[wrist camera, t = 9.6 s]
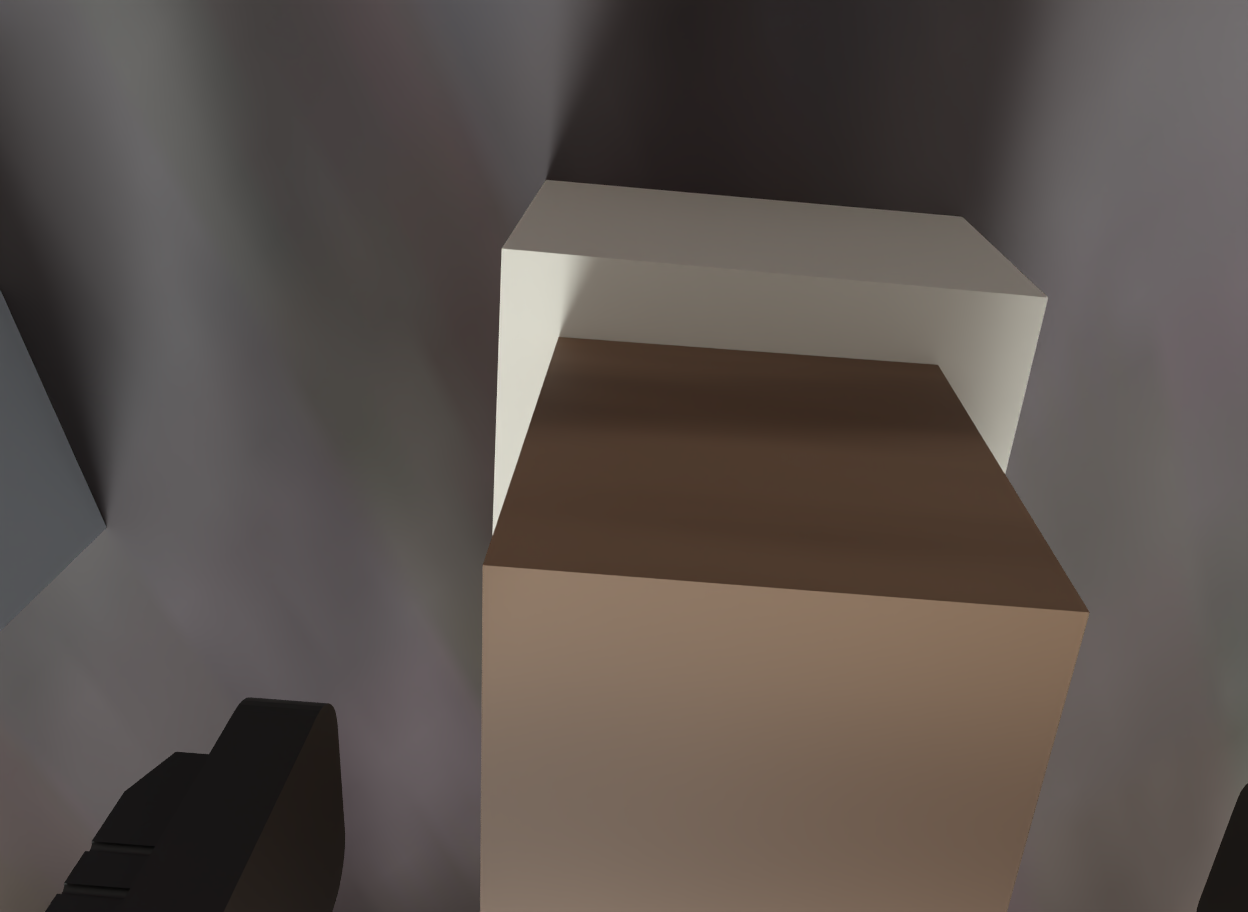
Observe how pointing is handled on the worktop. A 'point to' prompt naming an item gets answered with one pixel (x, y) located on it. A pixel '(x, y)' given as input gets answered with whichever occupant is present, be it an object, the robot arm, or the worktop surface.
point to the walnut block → (762, 642)
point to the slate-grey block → (35, 482)
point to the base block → (760, 293)
